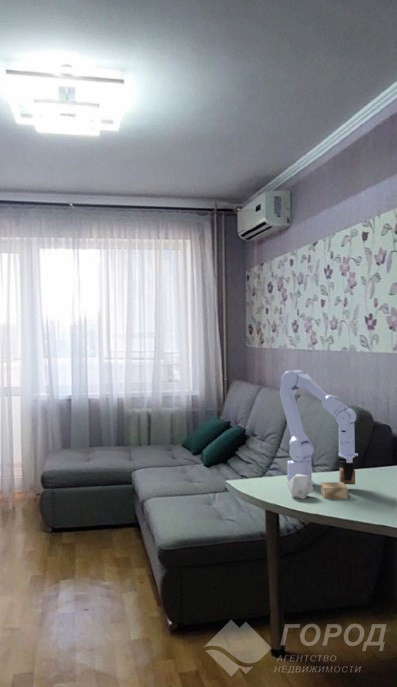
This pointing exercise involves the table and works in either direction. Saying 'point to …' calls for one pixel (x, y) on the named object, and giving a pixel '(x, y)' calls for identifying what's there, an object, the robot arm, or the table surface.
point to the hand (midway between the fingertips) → (347, 478)
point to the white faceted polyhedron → (300, 486)
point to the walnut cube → (342, 478)
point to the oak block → (334, 490)
